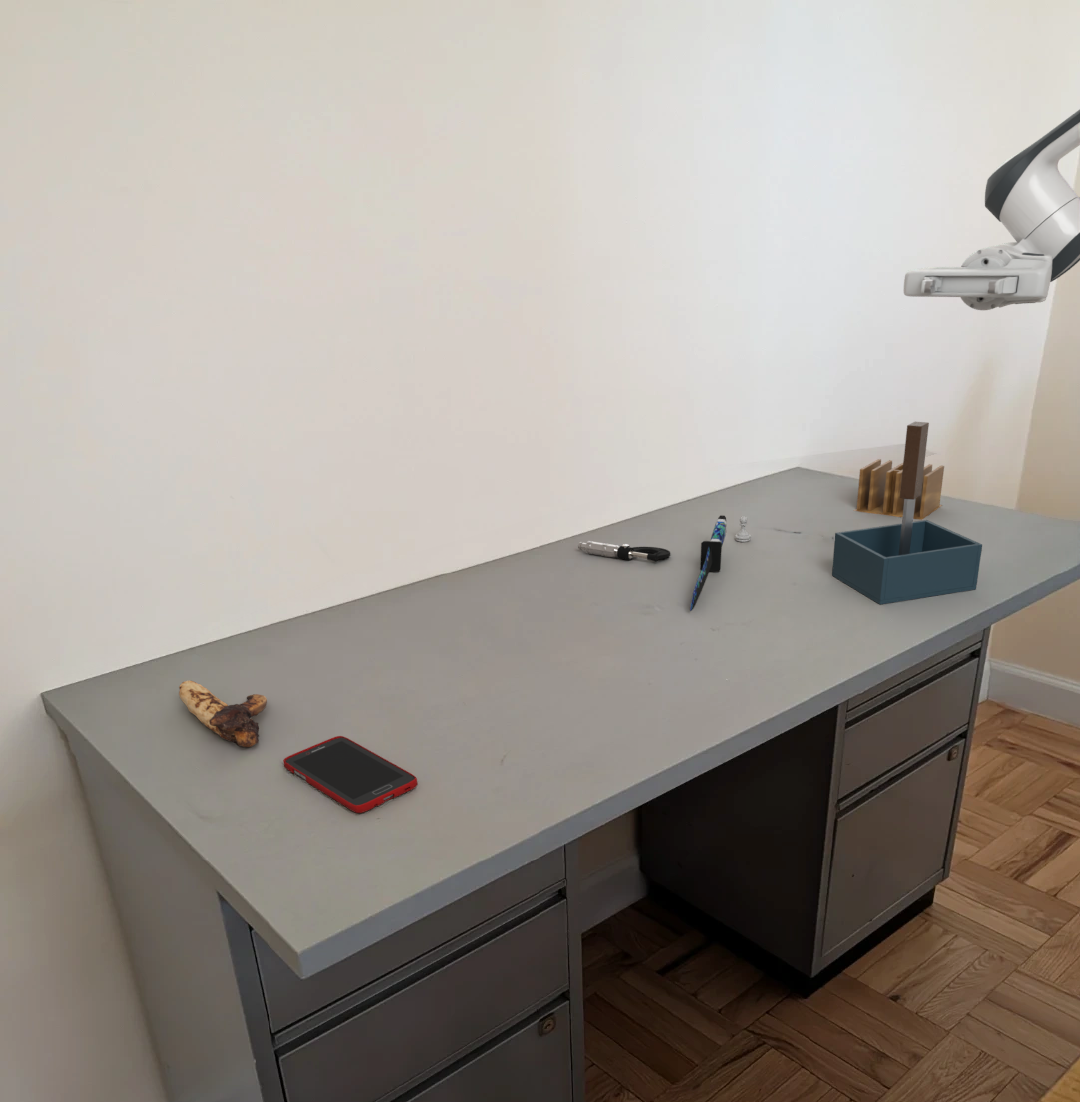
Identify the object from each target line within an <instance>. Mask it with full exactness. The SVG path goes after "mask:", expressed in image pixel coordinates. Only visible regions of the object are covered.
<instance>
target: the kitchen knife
mask: <svg viewBox="0 0 1080 1102" xmlns="http://www.w3.org/2000/svg"><path fill="white" fill-rule="evenodd" d="M929 426H930V423H929V422H925V421H913V422H911V423H909V424H908V425H906V433H905V442H904V451H903V460H902V463H903V471H902V480H901V490H900V498H903V499H904V507H903V517H901V523H902V526H901V536H900V545H899V554H898V555H905V554H909V553H910V544H911V535H912V526H913V522H914V519H913V517H914V508H915V499H916V498H917V497H918V496H920V495H921V489H922V480H923V471H924V467H925V462H926V454H927V451H926V450H927V444H928V434H929Z"/></svg>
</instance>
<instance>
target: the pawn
mask: <svg viewBox="0 0 1080 1102" xmlns="http://www.w3.org/2000/svg"><path fill="white" fill-rule="evenodd" d="M739 526H740V530H739V531H738V532H737V533H736V534H735V535H734V540H735V541H736V542H739V543H748V542H750V541H751V538H752V535H751V534H750V533H749V532H748V531H747V529H746V526H748V518H747V516H744V515H743V516H741V517H739Z"/></svg>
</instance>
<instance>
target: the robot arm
mask: <svg viewBox="0 0 1080 1102" xmlns="http://www.w3.org/2000/svg"><path fill="white" fill-rule="evenodd" d="M1079 146H1080V109H1078V110H1077V111H1075V112H1074V113H1073V114H1071V115H1070V116H1068V118H1066V119H1065V120H1063V121H1061V122H1060V123H1059V124H1058V125H1056V126H1055V127H1053V129H1051V130H1050V131H1048V132H1047V133H1045V135H1043V136H1042V137H1040V138H1039V139H1038V140H1036V141H1035V142H1033V143H1032V144H1030V145H1029V146H1027V147H1026V148H1025V149H1023V150H1021V151H1019V152H1017V153H1015V154H1013V155H1012V156H1010V157H1009V158H1007V159H1005V161H1003V162H1002V163H1001V164H1000V165H999V166H998V167H996V169H994V171H993V172H992V173H991V175H989V177H988V178H987V180H986V184H985V190H984V191H985V192H984V207H985V208H986V210H987V211H988V212H990V214H992V216H994V217H995V219H996V220H997V221H998V222H1000V223H1001V224H1002V225H1003V226H1004V228H1005V229H1006V230H1007V231H1008V233H1009V234H1010V235H1011V237H1012V238H1013V239H1014V241H1012V242H1005V243H1001V244H998V245H992V246H988V247H983V248H980V249H977V250H976V251H974V252H972V253H971V254H969V256H968V257H967V258H965V260H964V261H963V262H962V264H961V266H932V267H929V266H928V267H921V268H915V269H910V270H907V271H906V272H905V274H904V279H903V295H904V296H906V297H911V298H912V297H913V298H914V297H918V298H919V297H920V298H921V297H922V298H929V297H930V298H960V299H961V301H962V302H963V303H964V304H965V306H968V307H969V308H971V309H974V310H975V311H976V310H977V311H991V310H993V309H995V308H1003V307H1007V306H1010V305H1021V304H1036V303H1043V302H1045V301H1046V300H1047V297H1048V295H1049V289H1050V285H1051V283H1052V282H1054V281H1055V280H1057V279H1059V278H1060V277H1061V276H1063V275H1064V274H1066V273H1068V271H1070V270H1071V269H1072V268H1073V267H1074V266H1076V265H1077V264H1078V263H1079V262H1080V196H1079V195H1078V194H1077V193H1076V191H1075V190H1074V188H1072V186H1071V185H1070V184H1069V183H1068V181H1067V180H1066V179H1065V177H1064V176H1063V175H1062V174H1061V172H1060V171H1059V167H1058V164H1059V161H1060V160H1061V159H1063V158H1064V157H1065V156H1067V155H1068V154H1069V153H1071V152H1072V151H1074V150H1075V149H1077V148H1078V147H1079Z"/></svg>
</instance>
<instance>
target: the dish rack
mask: <svg viewBox="0 0 1080 1102" xmlns="http://www.w3.org/2000/svg"><path fill="white" fill-rule="evenodd" d="M902 471H903V462H901V463H900V464H898V465H896V466H894V467H893V460H890V459H889V460H887V461H885V462H884V463H882V459H880V458H877V459H876V460H874V461H872V462H870V463H869V464H867V465H865V466H863V467H862V468H859V476H858V488H857V500H856V508H855V509H853V510H852V511H853V512H859V513H867V514H874V515H882V516H889V517H898V518H902V517H903V507H904V499H903V498H900V490H901V480H902ZM944 471H945V465H939V466H938V467H936V468H934V469H933V464H930V463H928V464H927V465H926V466H924V471H923V480H922V489H921V495H920V496H918V497H917V498H916V499H915V508H914V517H913V520H918V521H923V520H925V519H926V518H927V517H929V516H930V515H932V513H934V512H935V511H937V510H938V509H939V508H941V507H943V504H940V503H941V497H942V496H941V495H942V488H943V482H944V481H943V479H944Z"/></svg>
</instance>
